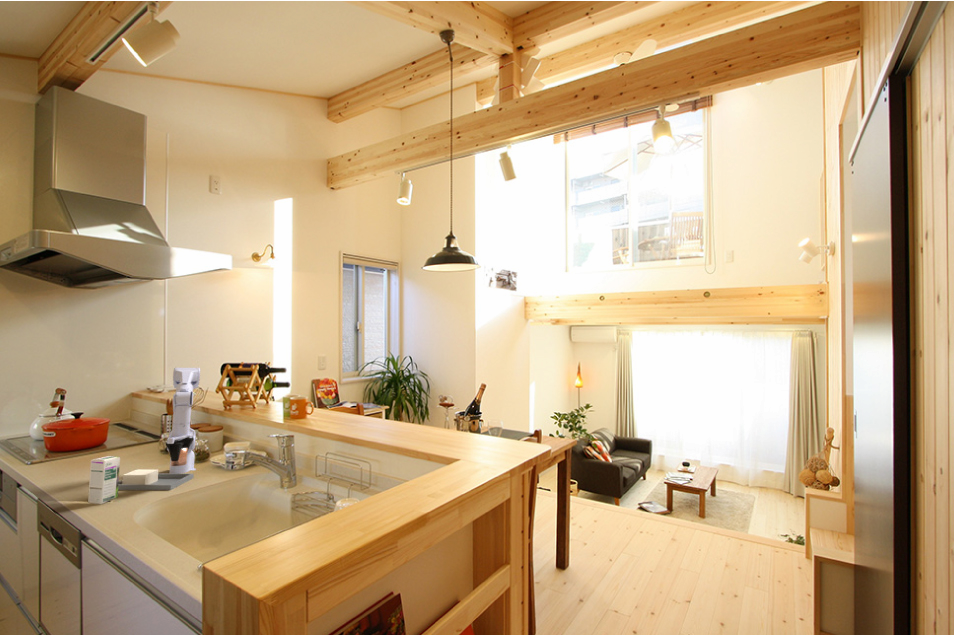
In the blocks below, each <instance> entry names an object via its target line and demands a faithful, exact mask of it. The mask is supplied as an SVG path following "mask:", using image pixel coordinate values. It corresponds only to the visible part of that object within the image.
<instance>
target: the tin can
mask: <svg viewBox="0 0 954 635" xmlns="http://www.w3.org/2000/svg"><path fill="white" fill-rule="evenodd" d="M187 453H188V448H187V447H182V448H181V451H180V455H179V460H178V461H171V466H182V465H186V464H187Z"/></svg>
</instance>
